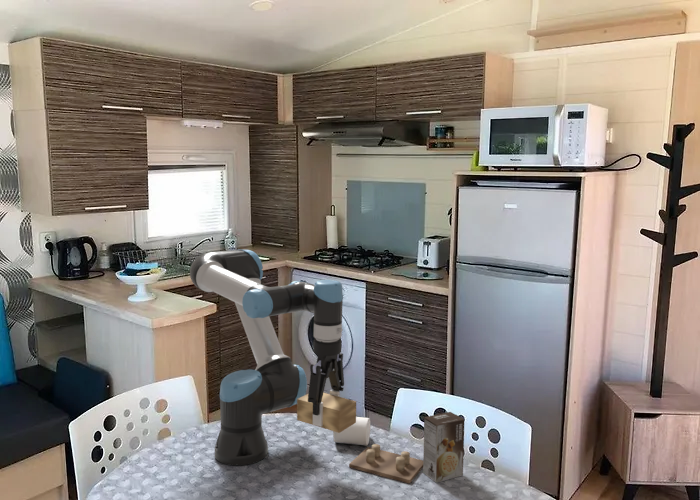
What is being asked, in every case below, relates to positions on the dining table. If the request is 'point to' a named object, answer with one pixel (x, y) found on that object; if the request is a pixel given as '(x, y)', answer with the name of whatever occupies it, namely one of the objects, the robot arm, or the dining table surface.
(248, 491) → the dining table surface
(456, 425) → the coffee box
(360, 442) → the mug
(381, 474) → the peg stand
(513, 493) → the dining table surface
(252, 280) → the robot arm
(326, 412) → the wooden block
